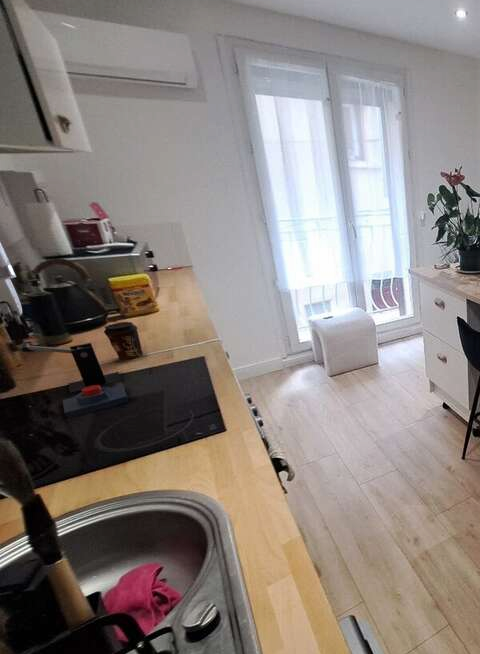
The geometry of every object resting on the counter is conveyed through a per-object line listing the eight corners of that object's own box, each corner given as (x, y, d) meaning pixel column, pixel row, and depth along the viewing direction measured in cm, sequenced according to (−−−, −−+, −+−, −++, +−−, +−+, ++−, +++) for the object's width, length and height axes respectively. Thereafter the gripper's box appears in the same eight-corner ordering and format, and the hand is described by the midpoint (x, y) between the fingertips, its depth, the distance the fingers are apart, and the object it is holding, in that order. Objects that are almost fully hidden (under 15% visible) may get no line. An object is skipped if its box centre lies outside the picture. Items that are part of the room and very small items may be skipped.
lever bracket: (71, 396, 119) (54, 356, 115) (69, 386, 125) (52, 348, 120) (123, 383, 127) (108, 345, 122) (119, 375, 132) (105, 338, 128)
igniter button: (84, 398, 111) (81, 392, 110) (83, 393, 113) (80, 388, 113) (102, 393, 114) (100, 387, 113) (101, 389, 116) (99, 383, 115)
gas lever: (20, 353, 111) (22, 345, 111) (20, 348, 114) (22, 340, 114) (89, 358, 121) (91, 351, 121) (88, 354, 125) (90, 347, 124)
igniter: (67, 420, 107) (61, 406, 106) (65, 407, 113) (59, 394, 112) (129, 402, 116) (124, 390, 114) (124, 391, 122) (119, 379, 121)
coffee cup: (109, 362, 142) (95, 326, 137) (138, 353, 149) (126, 319, 144) (124, 366, 139) (110, 330, 134) (153, 357, 146) (141, 322, 141)
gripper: (-30, 271, 109) (0, 331, 115) (-36, 281, 98) (-2, 346, 104) (14, 267, 114) (41, 324, 120) (13, 275, 103) (42, 338, 109)
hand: (21, 334), depth 112 cm, fingers open, 9 cm apart
